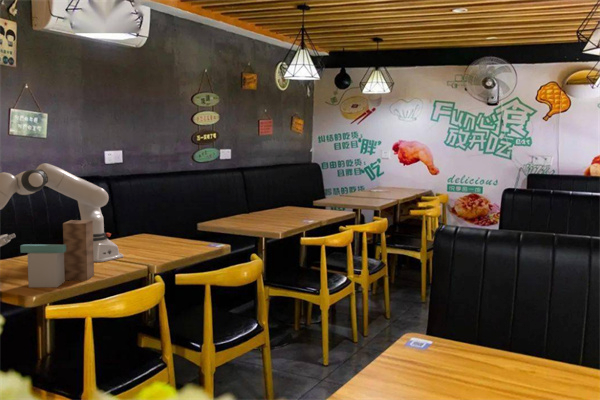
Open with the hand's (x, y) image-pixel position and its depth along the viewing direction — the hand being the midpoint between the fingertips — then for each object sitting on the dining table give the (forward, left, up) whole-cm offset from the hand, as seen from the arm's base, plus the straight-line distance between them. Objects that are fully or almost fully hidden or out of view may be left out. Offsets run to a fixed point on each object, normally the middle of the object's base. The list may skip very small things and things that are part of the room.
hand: (10, 237), depth 241 cm
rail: (-10, +10, -6) cm, 15 cm away
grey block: (-11, +11, -21) cm, 26 cm away
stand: (-26, +9, -21) cm, 35 cm away
